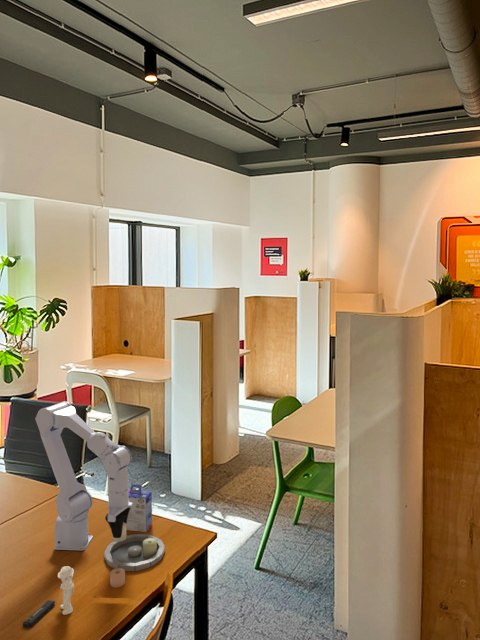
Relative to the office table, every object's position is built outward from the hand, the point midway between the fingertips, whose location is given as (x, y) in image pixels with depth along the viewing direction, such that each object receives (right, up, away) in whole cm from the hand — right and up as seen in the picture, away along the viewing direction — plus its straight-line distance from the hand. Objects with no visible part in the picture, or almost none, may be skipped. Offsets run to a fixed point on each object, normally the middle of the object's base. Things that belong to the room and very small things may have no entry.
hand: (119, 533), depth 156 cm
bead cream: (0, -2, 0) cm, 2 cm away
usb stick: (-14, -11, -25) cm, 31 cm away
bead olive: (+9, -6, 0) cm, 11 cm away
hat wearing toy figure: (-8, -10, -22) cm, 26 cm away
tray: (+4, -7, +1) cm, 9 cm away
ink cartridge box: (+1, -6, +17) cm, 18 cm away
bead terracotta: (+2, -9, -13) cm, 16 cm away
